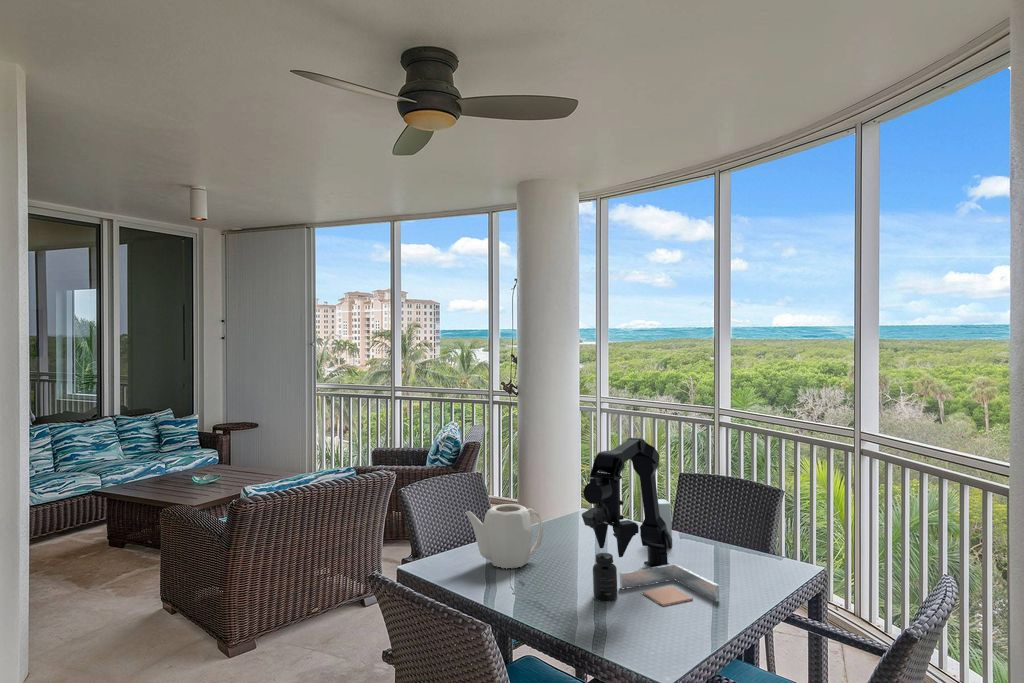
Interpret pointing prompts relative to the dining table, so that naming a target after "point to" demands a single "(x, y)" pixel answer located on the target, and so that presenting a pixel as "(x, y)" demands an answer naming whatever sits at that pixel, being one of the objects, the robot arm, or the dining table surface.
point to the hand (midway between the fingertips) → (611, 552)
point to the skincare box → (665, 513)
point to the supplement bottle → (604, 578)
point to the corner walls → (670, 573)
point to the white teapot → (506, 535)
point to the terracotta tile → (667, 595)
